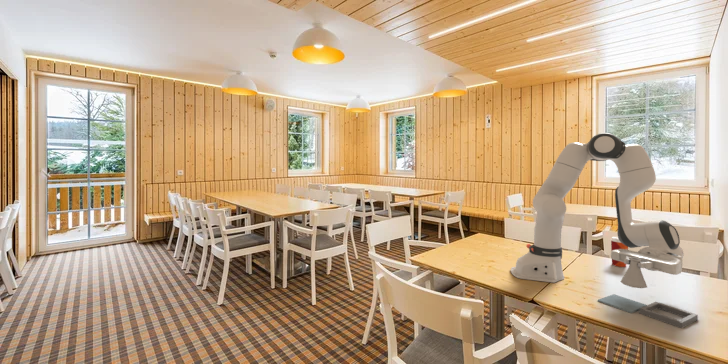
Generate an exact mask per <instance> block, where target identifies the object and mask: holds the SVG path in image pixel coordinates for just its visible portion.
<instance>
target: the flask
mask: <svg viewBox="0 0 728 364" xmlns="http://www.w3.org/2000/svg"><path fill="white" fill-rule="evenodd" d="M629 259H630V264H629V265H628V268H627V270H626V271H625V274H623V277H622V279H620V283H621V284H623V285H625V286H627V287H631V288H635V289H636V288H637V289H645V288H648V285H647V282H646V280H645V278H644V275H643V272H642V268H640V267H638V262H640V261H641V259H639V258H634V257H630V258H629Z"/></svg>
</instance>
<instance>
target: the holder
mask: <svg viewBox="0 0 728 364" xmlns="http://www.w3.org/2000/svg"><path fill="white" fill-rule="evenodd" d="M646 305H647V306H644V307H642V308H640V310H639V314H640V315H643V316H646V317H649V318H652V319H655V320H657V321H660V322H664V323H666V324H669V325H672V326H675V327H677V328H681V329H683V328H684V327H686V326H688V325H690V324H692V323H694V322H696V321H698V318H699V315H698V314H696V313H693V312H690V311H687V310H684V309H680V308H678V307H674V306H671V305H668V304H665V303H662V302H658V301H655V302H652V303H649V304H646ZM657 309H659V310H662V311H665V312H669V313H671V314H674V315H678V316H681V318H680V319H676V318H674V317H671V316H668V315H665V314H662V313H658V312H656V310H657ZM682 317H683V318H682Z"/></svg>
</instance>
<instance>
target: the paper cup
mask: <svg viewBox="0 0 728 364" xmlns="http://www.w3.org/2000/svg"><path fill="white" fill-rule="evenodd" d="M609 241H610V243H611V245H610V246H611V248H610V249H611V251H612V250H616V249H626V250H629V247H627V246H625V245H624V244H622V243H621V242H620V241H619V239H618V236H612V237H611V238H610V240H609ZM611 251H610V252H611ZM611 264H612V266H614V267H619V268H626V267H627V264H624V262H621V261H617V260H613V259H612V258H611Z"/></svg>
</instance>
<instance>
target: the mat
mask: <svg viewBox="0 0 728 364" xmlns="http://www.w3.org/2000/svg"><path fill="white" fill-rule="evenodd" d="M597 302H599V303H601V304H604V305H607V306H610V307H612V308H614V309H615V308H616V309H618V310H621V311H624V312H627V313H629V314H633V313H635V312H637V311H640V308H642V307H644V306H647V305H648V304H646V303H643V302H639V301H635V300H634V299H630V298H627V297H623V296H620V295H617V294H614V293H613V294H610V295H608V296H605V297H602V298H599V299H597Z"/></svg>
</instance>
